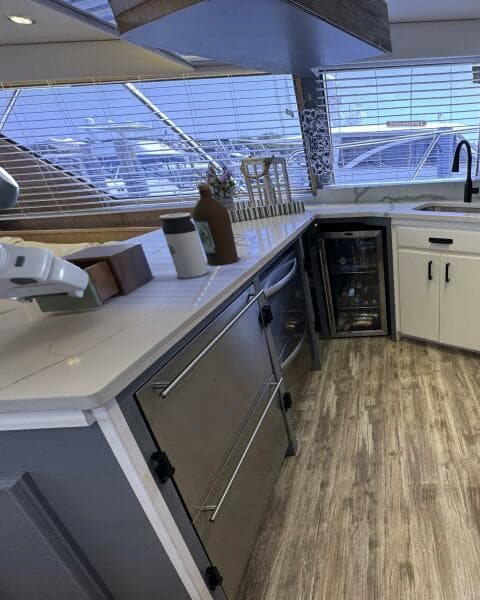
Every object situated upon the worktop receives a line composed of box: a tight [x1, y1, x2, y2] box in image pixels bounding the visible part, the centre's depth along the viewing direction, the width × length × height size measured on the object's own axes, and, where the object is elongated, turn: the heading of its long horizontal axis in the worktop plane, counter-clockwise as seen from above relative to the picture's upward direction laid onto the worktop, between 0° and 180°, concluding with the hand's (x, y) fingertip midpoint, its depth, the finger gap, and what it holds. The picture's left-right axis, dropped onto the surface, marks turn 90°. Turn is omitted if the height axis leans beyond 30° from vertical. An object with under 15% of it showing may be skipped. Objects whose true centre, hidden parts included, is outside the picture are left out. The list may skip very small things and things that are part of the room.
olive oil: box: [192, 184, 239, 266], centre depth 106 cm, size 11×11×25 cm
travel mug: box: [159, 212, 209, 279], centre depth 95 cm, size 8×8×18 cm
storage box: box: [59, 242, 154, 297], centre depth 88 cm, size 15×13×11 cm
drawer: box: [29, 259, 121, 313], centre depth 77 cm, size 18×11×9 cm, turn 12°
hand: (54, 297), depth 70 cm, fingers open, 8 cm apart
